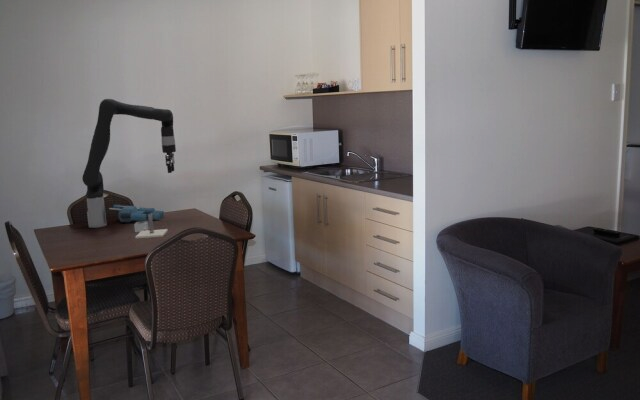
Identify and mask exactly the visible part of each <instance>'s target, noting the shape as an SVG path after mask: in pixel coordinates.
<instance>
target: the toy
mask: <svg viewBox="0 0 640 400" xmlns="http://www.w3.org/2000/svg"><path fill="white" fill-rule="evenodd" d="M108 209H109V210H111V211H112V210H113V211H116V212H117V214H118V217H117V218H118V219H119V221H120V223H131V222H133V221H136V222H146V221H148V214H152V220H153V221H160V220H161V217H163V218H164V215H165V213H164V211H163V210H155V208H152V207H142V206H141V207H139V208H138V207H137V206H135V205H120V204H118V203H117V204H113V206H112V207H109V208H108Z"/></svg>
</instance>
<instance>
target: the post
mask: <svg viewBox="0 0 640 400" xmlns="http://www.w3.org/2000/svg"><path fill="white" fill-rule="evenodd" d="M147 220H148V228H149V229H148V230H147V231H141V232H138V234H137V235H135V239H150V238H162V237H164V236H165V235H166V234H167V233H168V231H169V230H168V228H164V229H154V222H153V221H154V220H152V214H148V218H147Z"/></svg>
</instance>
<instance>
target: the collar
mask: <svg viewBox="0 0 640 400" xmlns="http://www.w3.org/2000/svg"><path fill="white" fill-rule="evenodd" d="M133 225H134V232H135V233H140V232H141V231H147V230H150V229H149V220H147V221H136V222H135V223H134V224H133Z"/></svg>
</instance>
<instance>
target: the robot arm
mask: <svg viewBox="0 0 640 400" xmlns="http://www.w3.org/2000/svg"><path fill="white" fill-rule="evenodd" d="M98 107H99V108H98V116H97V122H96V126H95V128H94V132H93V135H92V139H91V144H90V149H89V153H88V160H87V163H86V165H85V168H84V171H83V174H82V182H83V184H84V185H85V186H86V187H87V189H86V193H85V197H86V206H87V211H86V215H87V223H88V228H92V229H93V228H94V229H97V228H103V227H106V226H107V225H108V224H107V217H106V216H107V215H106V206H105V199H104V178H103V174H102V172H101V171H100V170H101V165H102V163H103V160H104V159H105V157H106V155H107V152H108V149H109V147H110V146H109V145H110V142H111V125H112V120H113V118H114V115H115V116H116V115H118V116H119V115H124V116H125V115H126V116H131V117H134V118H135V117H136V118H140V119H146V120H152V121H153V120H154V121H158V122H161V127H160V134H161V147H162V151H161V152H162V153H163V154H166V155H164V157H165V165H166V168H167V174H172V172H175V163H176V162H175V154H174V153H175V152H177V150H176V149H177V148H176V140H175V132H174V114H173V112H172V110H170V109H165V108H164V109H163V108H158V107H157V108H155V107H152V106H146V105H139V104H138V105H136V104H129V103H124V102H121V101H118V100H116V99H113V98H105V99H103V100H101V101H100V103H99V106H98Z"/></svg>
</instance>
